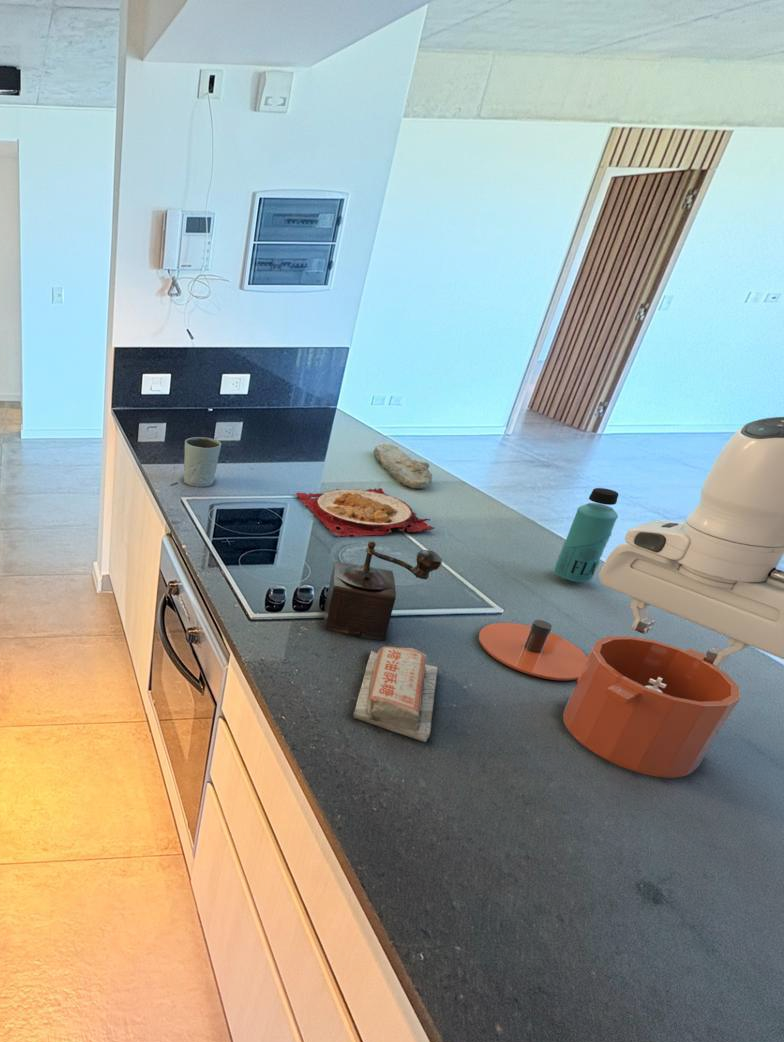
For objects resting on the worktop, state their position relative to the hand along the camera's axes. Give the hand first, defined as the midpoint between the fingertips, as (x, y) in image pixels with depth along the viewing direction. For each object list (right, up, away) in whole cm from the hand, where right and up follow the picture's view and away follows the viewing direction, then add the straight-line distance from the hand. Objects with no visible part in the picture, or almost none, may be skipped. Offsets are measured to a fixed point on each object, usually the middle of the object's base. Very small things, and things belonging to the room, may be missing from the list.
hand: (675, 646), depth 80 cm
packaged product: (-28, -11, +16) cm, 34 cm away
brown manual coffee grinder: (-24, -2, +33) cm, 41 cm away
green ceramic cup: (-40, +31, +99) cm, 111 cm away
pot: (0, -14, +7) cm, 16 cm away
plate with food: (-4, +20, +77) cm, 80 cm away
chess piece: (0, -14, +7) cm, 16 cm away
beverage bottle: (+24, +5, +46) cm, 53 cm away
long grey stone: (+21, +35, +105) cm, 113 cm away
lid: (0, -5, +24) cm, 25 cm away
